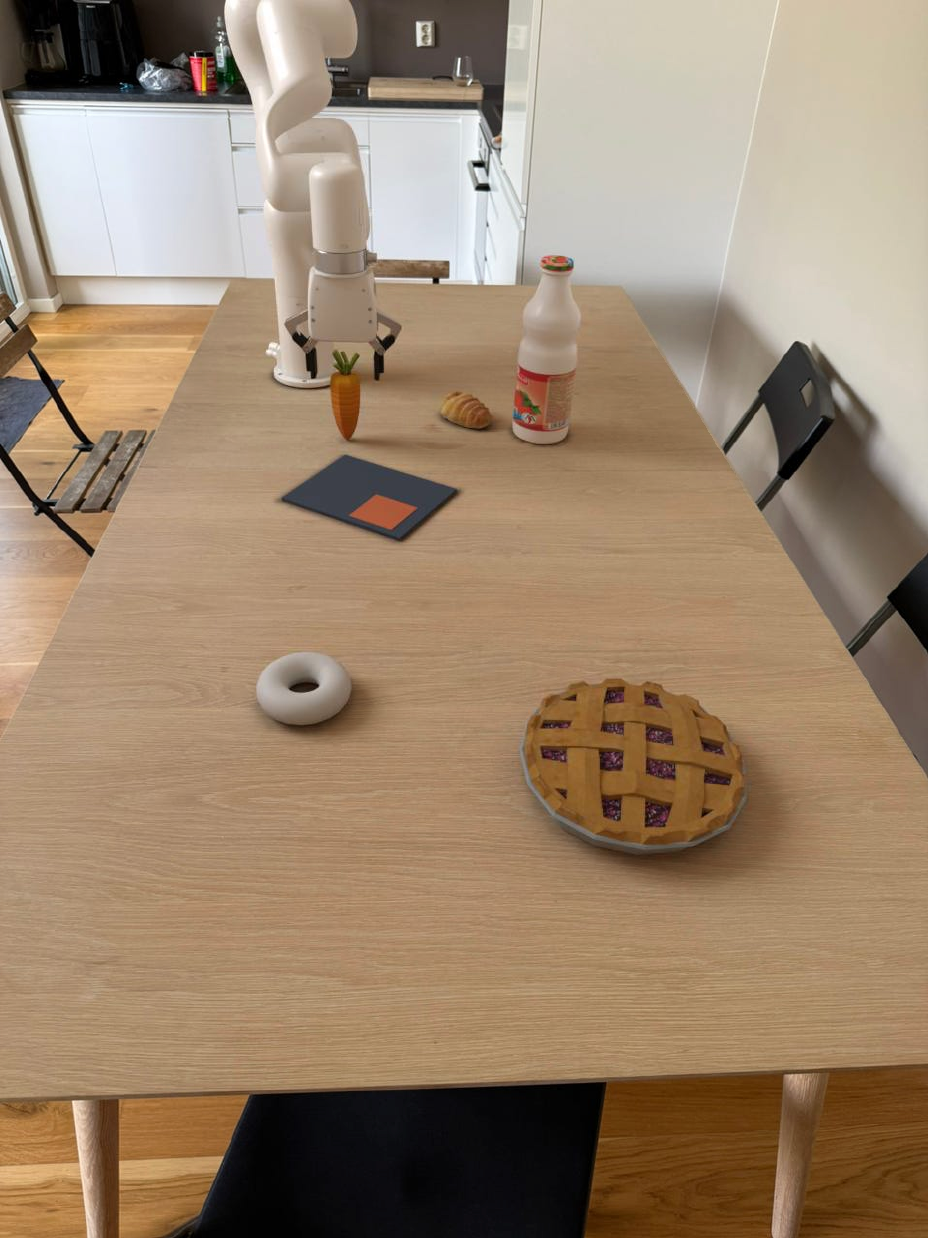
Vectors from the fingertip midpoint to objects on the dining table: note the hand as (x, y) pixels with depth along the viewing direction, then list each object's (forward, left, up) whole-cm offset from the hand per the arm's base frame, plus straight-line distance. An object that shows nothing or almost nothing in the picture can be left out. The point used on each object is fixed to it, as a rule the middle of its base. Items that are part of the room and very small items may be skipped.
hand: (345, 376), depth 137 cm
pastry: (+12, +18, -11) cm, 24 cm away
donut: (+31, -53, -11) cm, 62 cm away
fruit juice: (+25, +20, -11) cm, 34 cm away
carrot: (0, 0, -11) cm, 11 cm away
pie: (+65, -46, -11) cm, 80 cm away
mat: (+13, -13, -11) cm, 21 cm away
